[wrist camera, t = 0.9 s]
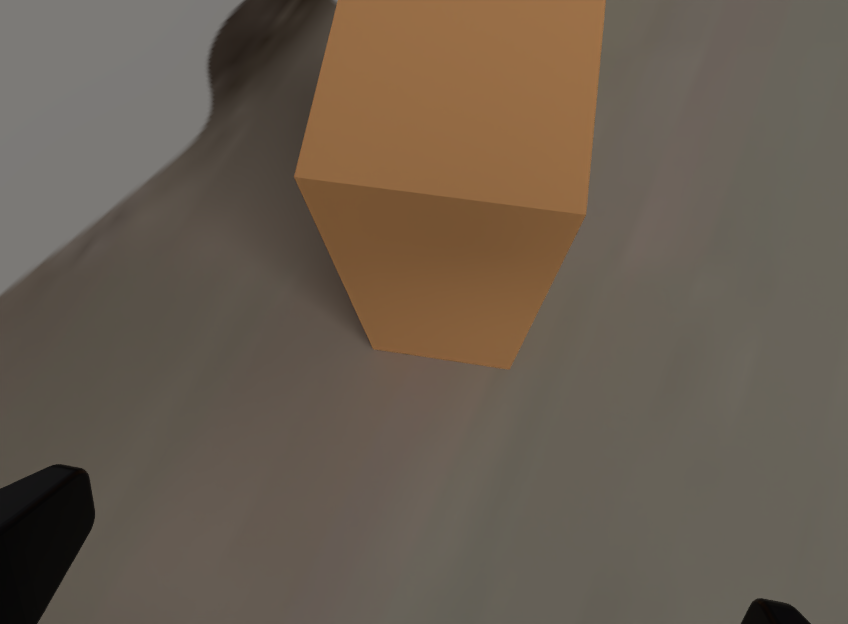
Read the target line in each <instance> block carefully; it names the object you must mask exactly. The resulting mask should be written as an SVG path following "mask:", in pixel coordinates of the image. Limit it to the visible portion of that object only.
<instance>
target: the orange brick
mask: <svg viewBox="0 0 848 624" xmlns="http://www.w3.org/2000/svg"><path fill="white" fill-rule="evenodd" d="M605 3H606V0H338V2H337V6H336V10H335V14H334V18H333V22H332V26H331V30H330V34H329V38H328V42H327V46H326V50H325V54H324V58H323V62H322V66H321V70H320V74H319V78H318V83H317V87H316V91H315V95H314V99H313V103H312V107H311V111H310V115H309V119H308V123H307V127H306V131H305V135H304V139H303V143H302V147H301V151H300V155H299V159H298V163H297V167H296V171H295V175H294V178H295V180H296V182H297V185H298V187H299V189H300V191H301V193H302V195H303V198H304V200H305V202H306V204H307V206H308V208H309V211H310V213H311V215H312V217H313V219H314V222H315V224H316V226H317V228H318V230H319V232H320V235H321V237H322V239H323V241H324V243H325V245H326V248H327V250H328V252H329V254H330V256H331V258H332V261H333V263H334V265H335V267H336V269H337V272H338V274H339V276H340V278H341V280H342V282H343V285H344V287H345V289H346V291H347V293H348V295H349V298H350V300H351V302H352V304H353V306H354V309H355V311H356V313H357V315H358V317H359V319H360V322H361V324H362V326H363V328H364V330H365V332H366V335H367V337H368V339H369V341H370V343H371V345H372V348H373V349H375V350H382V351H389V352H395V353H402V354H409V355H415V356H422V357H429V358H435V359H442V360H449V361H455V362H462V363H469V364H475V365H482V366H489V367H495V368H502V369H510V367H511V365H512V363H513V361H514V359H515V357H516V355H517V353H518V351H519V349H520V347H521V345H522V343H523V341H524V339H525V337H526V335H527V333H528V331H529V329H530V327H531V325H532V323H533V321H534V319H535V317H536V315H537V313H538V311H539V309H540V307H541V305H542V303H543V301H544V299H545V297H546V295H547V293H548V291H549V289H550V286H551V284H552V282H553V280H554V278H555V276H556V274H557V272H558V270H559V268H560V266H561V264H562V262H563V260H564V258H565V256H566V254H567V252H568V250H569V248H570V246H571V244H572V242H573V240H574V238H575V236H576V234H577V232H578V230H579V228H580V226H581V224H582V222H583V220H584V218H585V216H586V209H587V199H588V188H589V177H590V166H591V155H592V144H593V133H594V123H595V112H596V101H597V90H598V79H599V68H600V57H601V47H602V36H603V25H604V14H605Z"/></svg>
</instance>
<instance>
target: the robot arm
mask: <svg viewBox="0 0 848 624" xmlns="http://www.w3.org/2000/svg"><path fill="white" fill-rule="evenodd" d="M94 519H95V508H94V502H93V496H92V490H91V484H90V479H89V475H88V473H87V472H86V471H85V470H84V469H82V468H78V467H72V466H67V465H62V464H56V465H52V466H49V467H47V468H45V469H43V470H40V471H38V472H36V473H34V474H32V475H30V476H27V477H25V478H23V479H21V480H19V481H16V482H14V483H12V484H10V485H8V486H5V487H3V488H1V489H0V624H37V623H38V622H39V620H40V618H41V617H42V615H43V613H44V611H45V610H46V608H47V606H48V604H49V603H50V601H51V599H52V597H53V596H54V594H55V592H56V590H57V589H58V587H59V585H60V583H61V582H62V580H63V578H64V576H65V575H66V573H67V571H68V569H69V568H70V566H71V564H72V562H73V561H74V559H75V557H76V555H77V554H78V552H79V550H80V548H81V547H82V545H83V543H84V541H85V540H86V538H87V536H88V534H89V533H90V531H91V529H92V526H93V523H94ZM741 624H811V623H810V622H809V621H808V620H807V619H806V618H805V617H804V616H803V615H802V614H801V613H800V612H799V611H798V610H797V609H795V608H794V607H793V606H791V605H790V604H787V603H783V602H778V601H773V600H768V599H762V598H759V599H756V600H754V601H753V602H752V603H751V605H750V607H749V608H748V610H747V612H746V614H745V616H744V618H743V620H742V622H741Z"/></svg>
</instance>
